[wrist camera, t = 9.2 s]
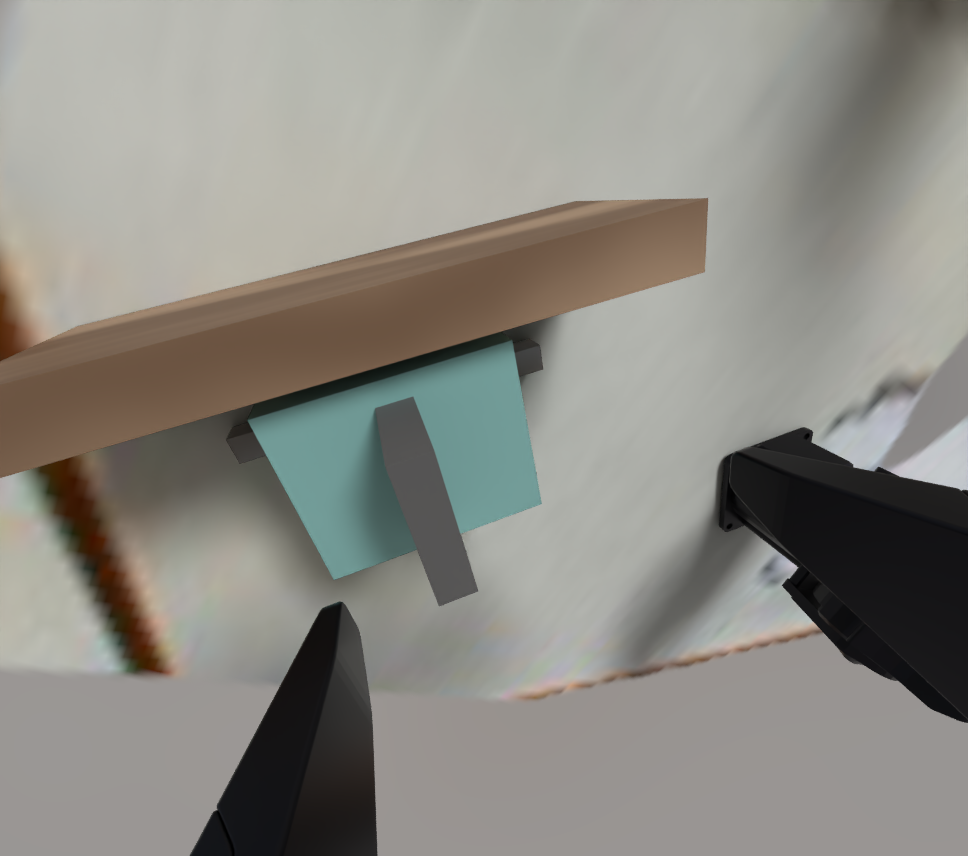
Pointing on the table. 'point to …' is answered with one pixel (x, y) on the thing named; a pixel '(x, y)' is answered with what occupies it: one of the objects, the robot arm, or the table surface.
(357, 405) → the teal handled box
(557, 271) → the brown wooden beam
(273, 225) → the table surface
